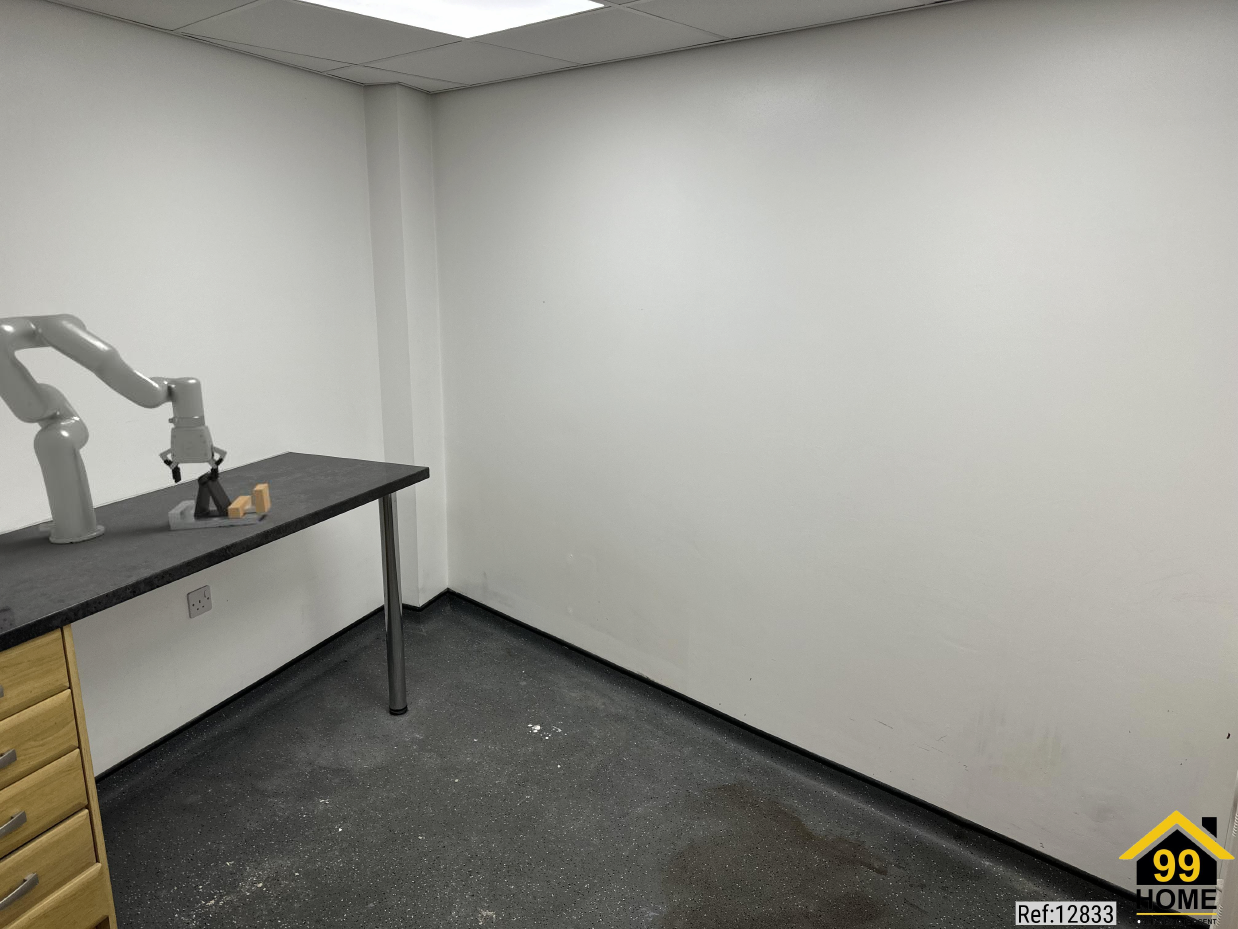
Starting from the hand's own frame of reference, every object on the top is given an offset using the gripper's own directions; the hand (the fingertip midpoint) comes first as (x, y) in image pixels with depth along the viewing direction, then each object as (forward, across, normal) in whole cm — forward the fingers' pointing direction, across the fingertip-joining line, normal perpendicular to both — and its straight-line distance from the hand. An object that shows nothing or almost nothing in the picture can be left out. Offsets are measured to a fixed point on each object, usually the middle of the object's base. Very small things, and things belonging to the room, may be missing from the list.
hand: (196, 481), depth 219 cm
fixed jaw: (+10, -5, 0) cm, 11 cm away
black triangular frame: (+10, +4, +1) cm, 11 cm away
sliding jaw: (+9, +14, 0) cm, 17 cm away
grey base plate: (+12, +5, 0) cm, 13 cm away
